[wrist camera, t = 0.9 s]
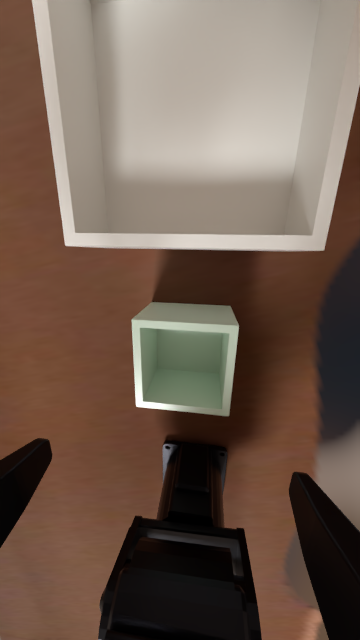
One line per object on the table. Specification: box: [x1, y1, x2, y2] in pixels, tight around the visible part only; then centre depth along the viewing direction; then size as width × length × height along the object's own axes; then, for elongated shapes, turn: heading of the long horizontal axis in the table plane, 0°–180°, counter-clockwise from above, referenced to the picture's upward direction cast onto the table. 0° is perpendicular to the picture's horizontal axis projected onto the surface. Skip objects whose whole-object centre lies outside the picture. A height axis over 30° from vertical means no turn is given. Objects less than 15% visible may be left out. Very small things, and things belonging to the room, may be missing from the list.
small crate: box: [132, 302, 239, 416], centre depth 16 cm, size 6×6×5 cm
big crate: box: [32, 0, 360, 251], centre depth 12 cm, size 14×14×5 cm
